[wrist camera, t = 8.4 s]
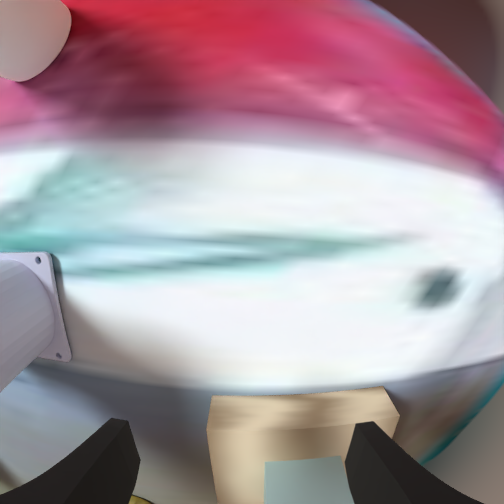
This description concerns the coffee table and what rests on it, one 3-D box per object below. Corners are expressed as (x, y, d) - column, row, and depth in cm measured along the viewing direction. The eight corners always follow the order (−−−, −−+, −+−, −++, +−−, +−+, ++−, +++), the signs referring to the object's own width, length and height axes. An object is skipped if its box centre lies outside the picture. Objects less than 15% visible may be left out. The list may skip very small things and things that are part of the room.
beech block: (223, 486, 23) (220, 519, 19) (212, 391, 20) (206, 429, 17) (352, 477, 23) (361, 508, 19) (380, 382, 21) (399, 415, 17)
